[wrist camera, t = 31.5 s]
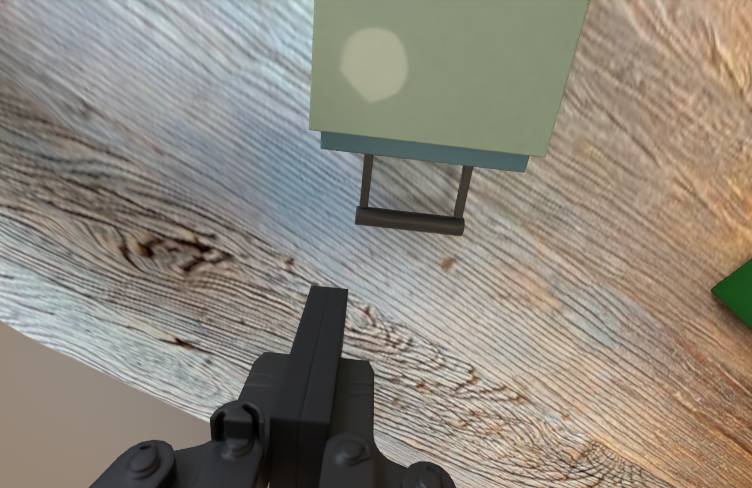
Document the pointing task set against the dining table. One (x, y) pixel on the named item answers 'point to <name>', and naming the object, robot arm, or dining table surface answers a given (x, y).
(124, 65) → the dining table surface
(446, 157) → the drawer
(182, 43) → the dining table surface
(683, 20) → the dining table surface
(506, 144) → the cabinet
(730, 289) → the milk carton
